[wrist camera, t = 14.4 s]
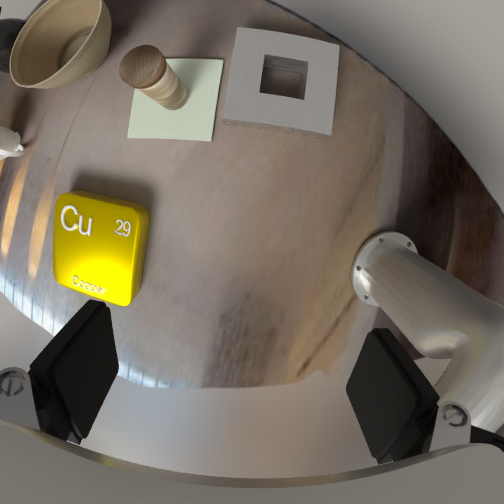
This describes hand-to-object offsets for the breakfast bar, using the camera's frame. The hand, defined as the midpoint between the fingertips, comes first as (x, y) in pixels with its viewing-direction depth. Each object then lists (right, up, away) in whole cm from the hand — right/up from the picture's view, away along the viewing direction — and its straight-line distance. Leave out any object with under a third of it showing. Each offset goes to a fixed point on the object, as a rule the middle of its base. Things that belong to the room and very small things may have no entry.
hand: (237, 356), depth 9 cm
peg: (-10, +24, +23) cm, 35 cm away
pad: (-10, +25, +24) cm, 36 cm away
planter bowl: (-26, +35, +20) cm, 48 cm away
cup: (-41, +22, +23) cm, 52 cm away
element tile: (-23, +5, +30) cm, 38 cm away
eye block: (+4, +26, +24) cm, 35 cm away
